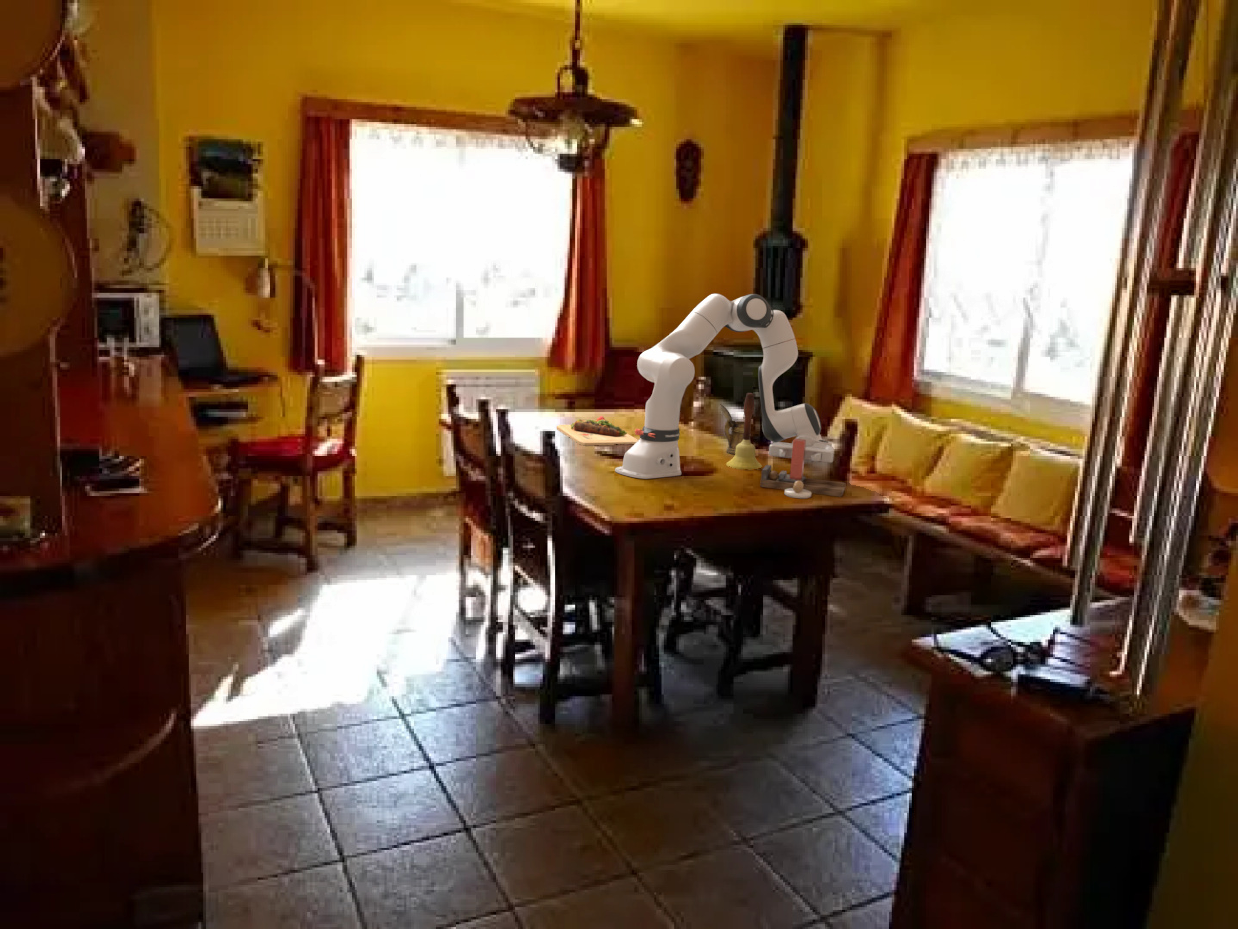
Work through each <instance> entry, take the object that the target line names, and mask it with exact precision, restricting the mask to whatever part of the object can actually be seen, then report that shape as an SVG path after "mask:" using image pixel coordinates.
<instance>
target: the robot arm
mask: <svg viewBox="0 0 1238 929" xmlns="http://www.w3.org/2000/svg"><path fill="white" fill-rule="evenodd" d="M724 327H725V328H727V330H728V329H729V330H730V331H732V332H735V333H744V332H748V331H751V330H752V331H754V332H755V334H757V336H758V338H759V341H760V345H761V348H762V352H763V353H762V354H763V359H762V363H761V364H760V365H759V366H758V372H757V376H758V390H759V398H760V399H759V401H760V408H761V426H762V427H761V429H762V432H763V435H764V437H765V439H767V440H769V441H771V444H769V446H768V455H769V456H770V457H776V458H783V459H784V458H785V459H792V449H793V441H791V443H789V442H782V441H785V440H786V439H790V438H793V437H795V439H804V440H806V448H805V459H804V464H807V463H808V464H809V463H827V464H832V463H833V461H834V454H835V452H834V451H835V449H834V447H833V443H832V442H831V441H828V440H823V439H822V435H821V434H820V433H821V430H822V423H821V419H820V418H821V417H820V415H819V413H818V411H817V410H816V408H815V407H813V406H812V405H811V404H809V403H808V402H807V403H806V402H805V403H801V404H797V405H794V406H791V407H787V408H784V409H779V410H776V409H775V403H774V402H775V401H774V393H773V392H774V391H773V386H774V383H775V381H776V380H777V379H778V377H780V376H781V375H782V374H784V373H785V372H787V371H788V370H789V369H790V368H791V367H793V365H794V364H795V362H796V361H797V359H798V357H799V351H798V345H797V344H798V343H797V341H796V340H797V339H796V336H795V333H794V331H793V328H792V326H791V323H790V322H789V319H788V317H787V315H786V314H785V312H784V311H781V310H778V309H774V308H773V307H772V306H771V305H770V304H769V303H768V301H767V300H766V299H765V297H763V296H762V295H760V294H757V293H751V294H750V293H749V294H746V295H743V296H740V297H738V298H736V299H734V300H729V299H728V298H727V297H726V296H724V295H722V294H720V293H711V294H709V295H708V296H707V297H705V298H704V299H703V300H702V301H700V302H699V303H698V304H697V305H696V306H695V307H694V308H693V309H692V311H690V312H689V314H688V315H687V316H686V317H685V319H684V320H683V321H682V322H681V323H680V324H679V325H678V326H677V327H676V328H675V329H674V330H673V331H672V332H670V333H669V335H667V336H666V337H664V338H663V339H661V341H660V342H658V343H656V344H655V345H654V346H652V347H651V348H648V349H647V350H645V351H643V352H642V353H641V354H640V355H639V356H638V359H637V363H636V364H637V365H636V367H637V368H636V369H637V371H638V373H639V374H640V375H641V376H642V377H643V378H644V379H646V380H647V381H649V382H651V383H654V385H653V390H652V392H651V393H652V394H651V396H650V397H649V398H648V400H646V402H645V410H644V425H643V427H642V429H639V428H634V429H635V430H634V434H635V435H637V436H639V439H638V441H637V442H636V443H635V444H634V445H631V447H630V448H629V449H628V450H627V451H626V452H625V453H624V454H623V455H624V456H623V459H622V466H617V467H615V469H614V471H615V473H617V474H619V475H623V476H627V477H632V478H637V479H645V480H647V479H657V478H665V477H675V476H676V477H678V476H681V475H682V470H681V466H680V464H681V463H680V448H679V440H680V436H681V435H680V428H679V425H680V424H679V422H680V414H681V412H680V411H681V406H682V400H683V397H684V394H685V392H686V389H687V387H688V386H689V385H690V384H692V381H693V380H694V378H695V373H696V372H695V371H696V370H695V365H694V363H693V362H692V361H691V360H690V359H692V358H694V357H695V356H697V355H700V354H701V353H703V352H704V350H705V349H706V348H707V347H708V345H709V344H710V343H711V342H712V341H713V340H714V338H715V337H716V336H717V335H718V334H719V332H721V330H722V329H723V328H724Z"/></svg>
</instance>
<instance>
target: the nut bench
mask: <svg viewBox="0 0 1238 929" xmlns="http://www.w3.org/2000/svg"><path fill="white" fill-rule="evenodd" d="M759 483H760V484H759V487H761V488H767V489H768V488H769V489H777V490H784V491H785V489H788V488H793V485H794V483H788V482H780V481H779V473H778V472H777V471H776V470H772V465H771V464H766V465H765V466H764V467H762V468H761V478H760V482H759ZM803 489H805V490H809V491H811V494H815V495H816V494H817V495H825V496H831V497H839V498H841V497H843V495H844V492H845V490H846V482H839V481H832V480H831V481H830V480H825V479H824V480H822V479H816V478H815V479H814V478H807V477H806V480H805V483H804V487H803Z"/></svg>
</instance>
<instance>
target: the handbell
mask: <svg viewBox="0 0 1238 929" xmlns="http://www.w3.org/2000/svg"><path fill="white" fill-rule="evenodd" d="M754 410H755V399H754V393H752V392H747V393H746V396H745V399H744V404H743V414H744V422H745V423H744V435H743V441H742V442H741V443H739V444H738V445H737V446H736V451H735V455H733V457H732V458H731V459H730V460H729V461H727V462H726V463H725V465H726V466H727V467H729V466H730V467H729V468H731V467H732V469H735V468H736V469H737V470H743V469H748V470H747V471H753V470H752V469H757V470H759V469H758V468H761V467H762V468H763V465H762V464H761V463H760V462H759V461H758V460H757V459H756V447H755V445H754V444H752V443H751V432H750V428H751V427H752V426H751V424H752V416H753V415H754ZM749 439H750V440H749ZM762 468H761V469H762ZM736 469H735V470H736Z"/></svg>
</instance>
